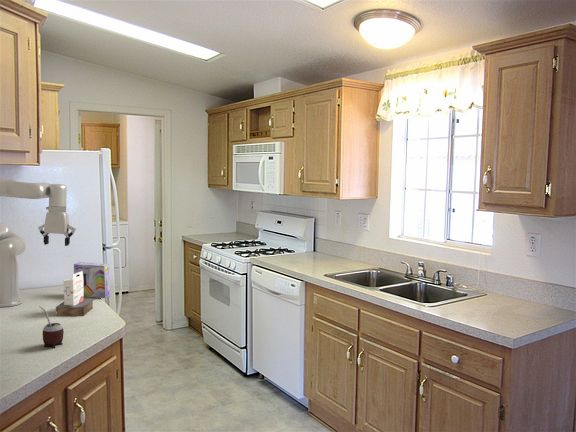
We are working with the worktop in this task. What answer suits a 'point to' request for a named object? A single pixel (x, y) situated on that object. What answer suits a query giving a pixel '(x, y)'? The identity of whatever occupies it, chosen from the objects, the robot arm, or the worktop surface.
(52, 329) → the mate gourd
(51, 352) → the worktop surface
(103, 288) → the cake pan box
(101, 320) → the worktop surface
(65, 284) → the ink cartridge box
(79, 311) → the display podium
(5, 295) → the robot arm
